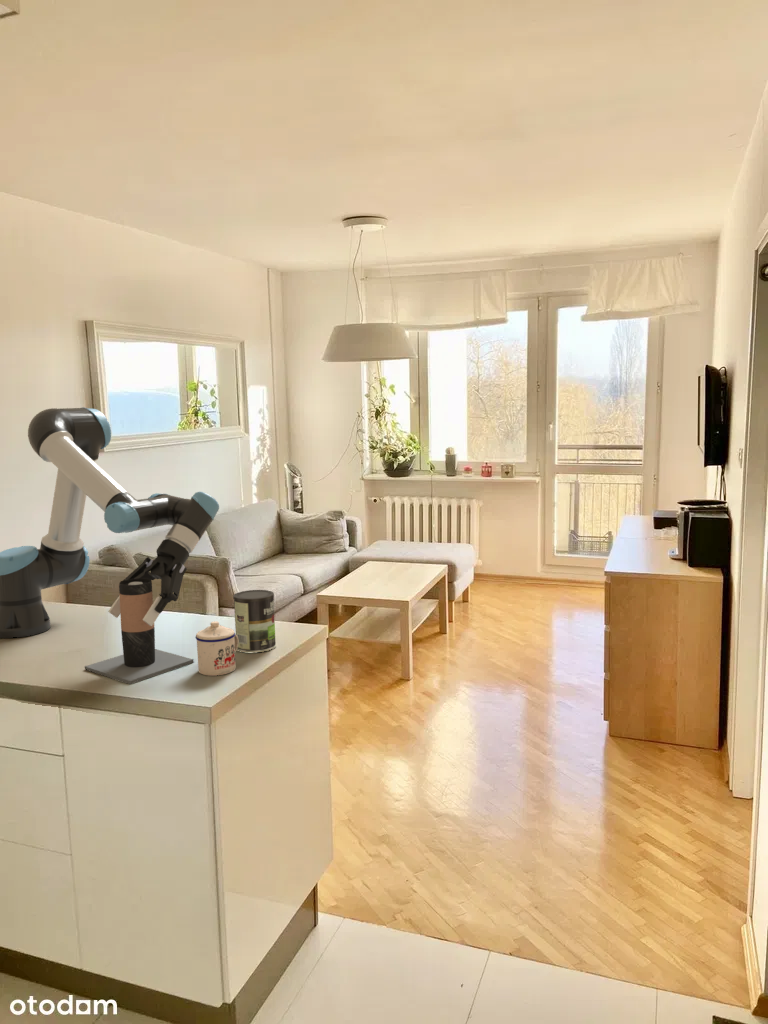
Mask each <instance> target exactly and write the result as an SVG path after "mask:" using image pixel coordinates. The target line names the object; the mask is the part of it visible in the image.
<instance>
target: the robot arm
mask: <svg viewBox="0 0 768 1024" xmlns="http://www.w3.org/2000/svg"><path fill="white" fill-rule="evenodd" d="M27 437H28V442H29V444H30V446H31V448H32V450H33V451H34V453H36V454H37V455H38V457H40V459H42V460H43V461H45V462H46V463H52V464H53V465H54V466H55V467H56V468H57V474H56V480H55V486H54V493H53V499H52V505H51V511H50V512H51V513H50V519H49V525H48V533H46V534H45V535H43V536H42V538H41V539H40V540H41V541H40V546H39V548H37V546H34V545H22V546H17V547H11V548H8V549H4V550H1V551H0V638H1V639H14V638H13V637H17V638H24V637H30V635H31V636H34V635H39V634H41V633H44V632H46V631H48V630H50V629H51V627H52V626H51V625H52V624H51V619H50V617H49V614H48V612H47V609H46V608H45V605H44V604H43V599H42V590H45V589H48V588H53V587H57V586H61V585H69V584H71V583H73V582H77V581H80V580H81V579H83V578H84V577H85V576H86V574H87V572H88V570H89V568H90V560H91V559H90V556H88V555H89V551H88V549H87V548H86V546H85V545H84V543H85V542H84V541H83V540H82V539H81V538H80V536H81V529H82V524H83V516H84V511H85V506H86V499H87V497H88V498H89V500H91V501H92V502H94V504H95V505H97V506H98V507H99V508H100V510H102V511H103V512H104V515H103V517H104V523H106V526H107V528H108V530H109V531H111V532H112V533H115V534H123V533H125V534H127V533H132V532H137V531H141V530H146V529H150V528H156V527H162V526H171V528H170V529H169V530H168V532H167V534H166V535H165V536H164V538H165V539H162V541H161V542H160V544H159V545H158V547H157V548H156V555H157V556H156V557H155V559H151V558H150V556H147V557H146V558H145V559H144V560H143V561H142V562H141V564H140V565H138V567H136V568H135V569H134V570H133V571H131V573H130V574H128V575H127V576H126V577H125V578H124V579H123V580H127V579H135V578H146V579H150V580H151V581H154V580H161V581H160V593H159V594H158V595H159V596H156V598H155V600H153V604H152V606H151V607H150V609H149V610H148V612H147V613H146V615H145V616H144V618H143V621H145V622H146V623H147V624H148V625H149V626H152V625H153V624H154V625H155V622H156V621H157V619H158V617H159V616H160V614H161V613H163V611H164V609H165V608H166V606H167V605H168V604H169V603H171V601H173V602H176V601H178V599H179V595H180V590H181V587H182V583H183V578H184V575H185V574H186V571H187V569H188V568H187V567H186V566H185V564H186V562H187V560H189V557H190V554H192V552H193V550H194V549H195V547H196V546H197V545H198V543H199V541H200V540H201V538H202V537H203V535H204V534H205V533H206V531H207V529H208V528H209V526H210V525H211V523H212V522H213V521H215V520H214V519H215V517H216V515H217V513H218V512H219V509H220V505H219V502H218V501H217V499H216V498H214V497H213V496H211V494H208V492H207V493H206V492H204V491H197V492H195V493H194V494H193V495H192V496H191V498H184V497H178V496H175V495H170V494H167V493H157V492H156V493H152V494H151V495H150V496H148V497H147V498H143V499H142V498H141V499H136V498H135V497H134V496H133V495H131V493H129V492H128V491H127V489H125V488H124V487H123V486H122V485H120V484H119V482H118V481H116V480H115V479H114V478H113V477H112V476H111V475H110V474H109V473H108V472H106V470H104V468H102V467H101V465H99V464H98V463H97V460H98V459H99V455H100V451H101V450H104V449H105V448H107V446H109V444H110V443H111V439H112V428H111V424H110V422H109V421H108V419H107V417H106V415H105V414H104V413H103V412H102V411H100V410H99V409H96V408H88V407H84V406H83V407H75V408H74V407H69V408H68V407H67V408H57V407H56V408H53V407H52V408H47V409H43V410H41V411H39V412H38V413H37V414H35V415H34V416H33V417H32V419H31V420H30V422H29V425H28V429H27ZM107 612H109V614H111V615H112V616H113V617H115V618H118V617H120V595H119V594H118V596H117V597H115V601H114V602H113V604H112V605H111V607H110V608H109V610H108V611H107Z"/></svg>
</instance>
